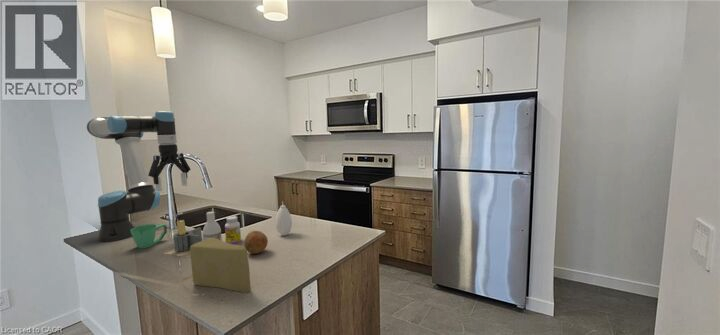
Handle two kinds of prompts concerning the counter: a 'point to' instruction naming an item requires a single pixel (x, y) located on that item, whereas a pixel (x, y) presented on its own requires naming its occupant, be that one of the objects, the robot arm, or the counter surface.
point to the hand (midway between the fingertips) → (172, 188)
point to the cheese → (220, 265)
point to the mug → (147, 235)
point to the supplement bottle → (232, 230)
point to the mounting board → (178, 253)
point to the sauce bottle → (283, 220)
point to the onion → (255, 242)
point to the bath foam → (211, 228)
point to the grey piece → (187, 240)
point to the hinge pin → (181, 228)
